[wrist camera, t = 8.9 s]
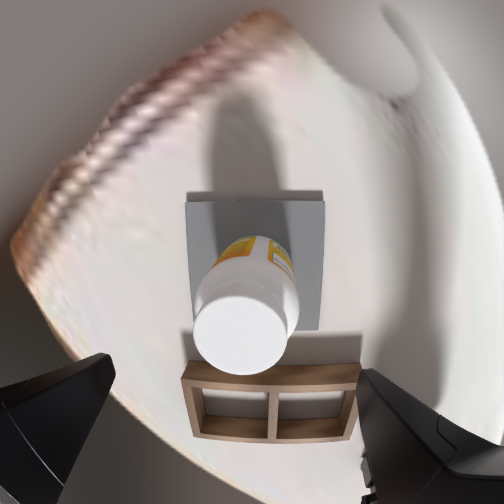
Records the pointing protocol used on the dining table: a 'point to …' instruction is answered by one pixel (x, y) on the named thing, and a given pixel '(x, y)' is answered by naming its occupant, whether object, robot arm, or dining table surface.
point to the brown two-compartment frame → (272, 403)
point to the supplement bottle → (246, 307)
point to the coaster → (268, 225)
